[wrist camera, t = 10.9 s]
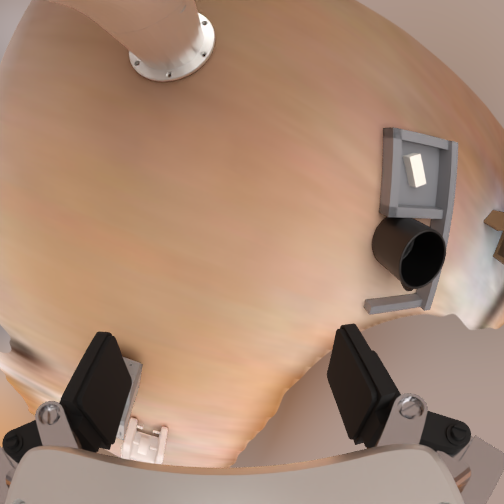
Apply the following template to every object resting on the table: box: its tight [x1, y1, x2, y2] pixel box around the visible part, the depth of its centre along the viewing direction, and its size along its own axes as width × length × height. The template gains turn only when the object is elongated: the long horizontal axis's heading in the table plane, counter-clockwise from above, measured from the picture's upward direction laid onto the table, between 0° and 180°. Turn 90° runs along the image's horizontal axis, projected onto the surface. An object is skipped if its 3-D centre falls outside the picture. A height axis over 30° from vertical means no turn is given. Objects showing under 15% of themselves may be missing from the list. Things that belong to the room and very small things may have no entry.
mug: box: [372, 217, 446, 291], centre depth 38 cm, size 9×12×9 cm
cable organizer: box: [121, 417, 168, 464], centre depth 53 cm, size 15×11×12 cm
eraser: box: [403, 153, 426, 188], centre depth 36 cm, size 5×2×2 cm, turn 21°
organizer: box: [364, 128, 458, 314], centre depth 39 cm, size 31×14×4 cm, turn 1°
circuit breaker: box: [116, 357, 143, 440], centre depth 41 cm, size 8×14×15 cm, turn 159°
